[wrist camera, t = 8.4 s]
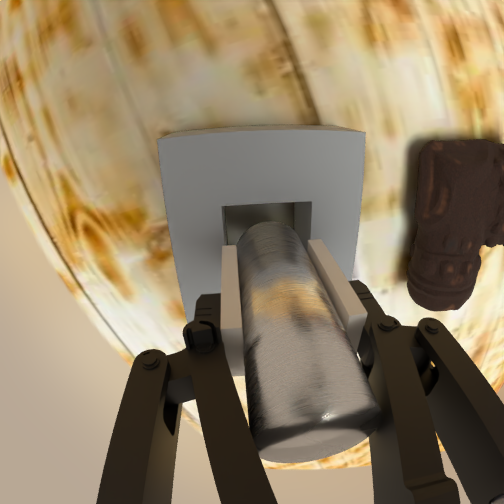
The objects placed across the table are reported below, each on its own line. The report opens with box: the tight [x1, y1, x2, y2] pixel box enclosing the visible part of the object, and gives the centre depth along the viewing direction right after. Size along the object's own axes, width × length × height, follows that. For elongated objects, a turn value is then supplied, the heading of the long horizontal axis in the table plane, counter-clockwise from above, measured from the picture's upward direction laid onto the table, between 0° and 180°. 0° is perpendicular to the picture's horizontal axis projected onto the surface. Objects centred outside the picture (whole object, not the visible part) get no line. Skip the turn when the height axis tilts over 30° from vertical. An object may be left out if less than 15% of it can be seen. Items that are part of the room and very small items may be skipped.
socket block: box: [157, 125, 366, 323], centre depth 21 cm, size 14×12×5 cm
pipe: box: [407, 139, 504, 311], centre depth 20 cm, size 10×15×15 cm
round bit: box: [236, 221, 383, 463], centre depth 12 cm, size 4×4×12 cm
